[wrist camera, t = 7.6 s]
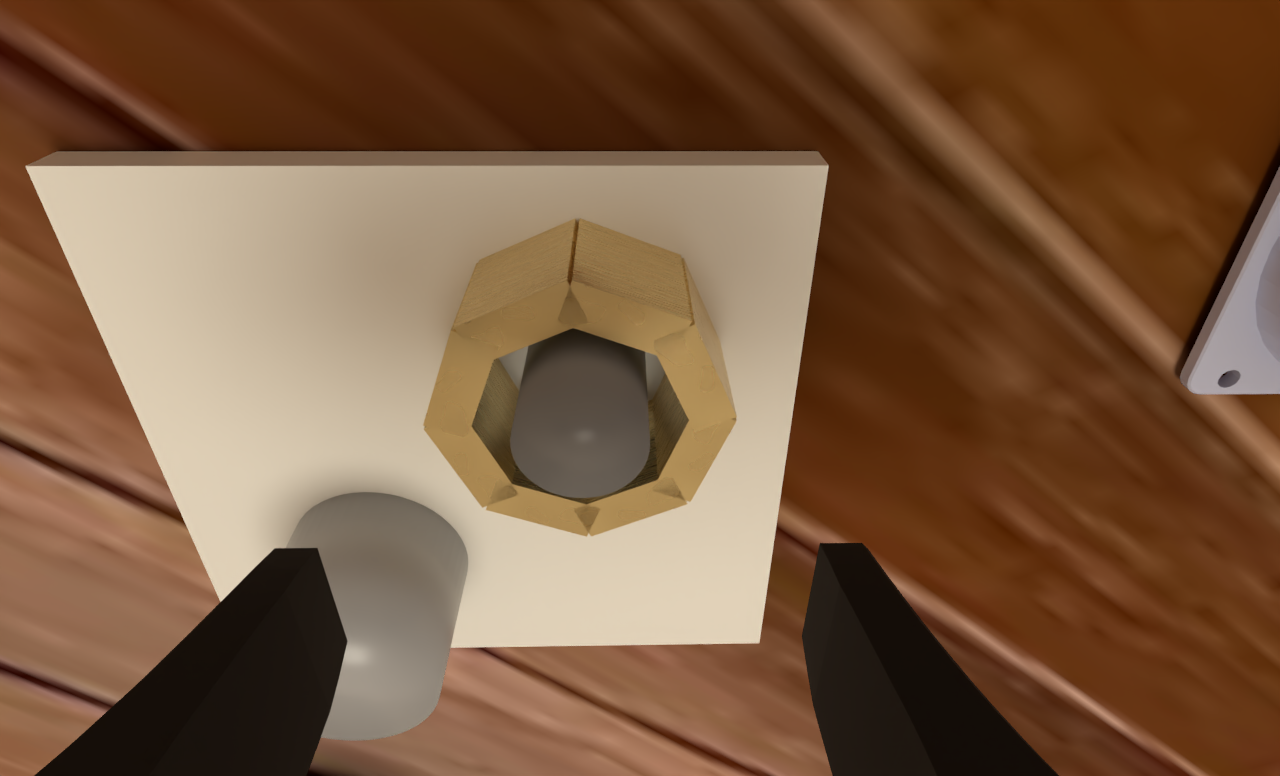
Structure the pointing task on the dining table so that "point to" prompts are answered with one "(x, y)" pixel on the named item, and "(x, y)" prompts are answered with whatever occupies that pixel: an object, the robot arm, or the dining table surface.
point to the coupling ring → (603, 306)
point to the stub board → (405, 378)
